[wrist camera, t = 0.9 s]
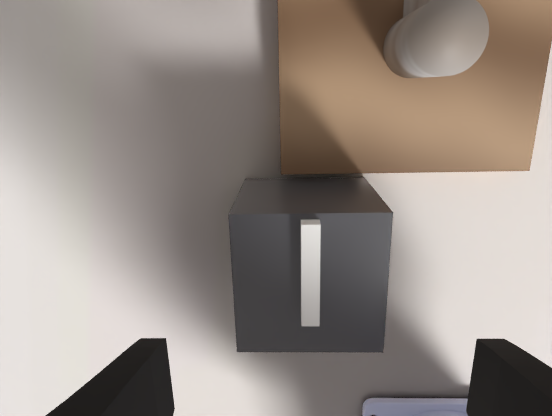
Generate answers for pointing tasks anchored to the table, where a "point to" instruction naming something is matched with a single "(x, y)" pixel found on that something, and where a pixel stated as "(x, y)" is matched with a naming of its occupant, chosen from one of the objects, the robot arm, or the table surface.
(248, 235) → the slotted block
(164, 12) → the table surface
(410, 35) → the block
